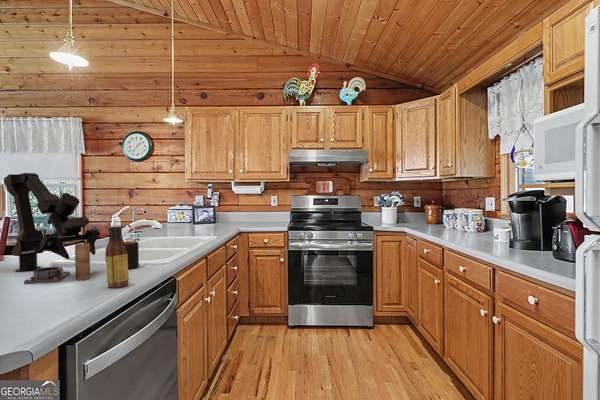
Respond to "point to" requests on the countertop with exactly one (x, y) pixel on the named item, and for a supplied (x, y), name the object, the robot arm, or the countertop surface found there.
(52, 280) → the bracket
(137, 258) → the mug
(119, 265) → the sauce bottle
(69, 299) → the countertop surface
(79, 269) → the brown round cylinder
